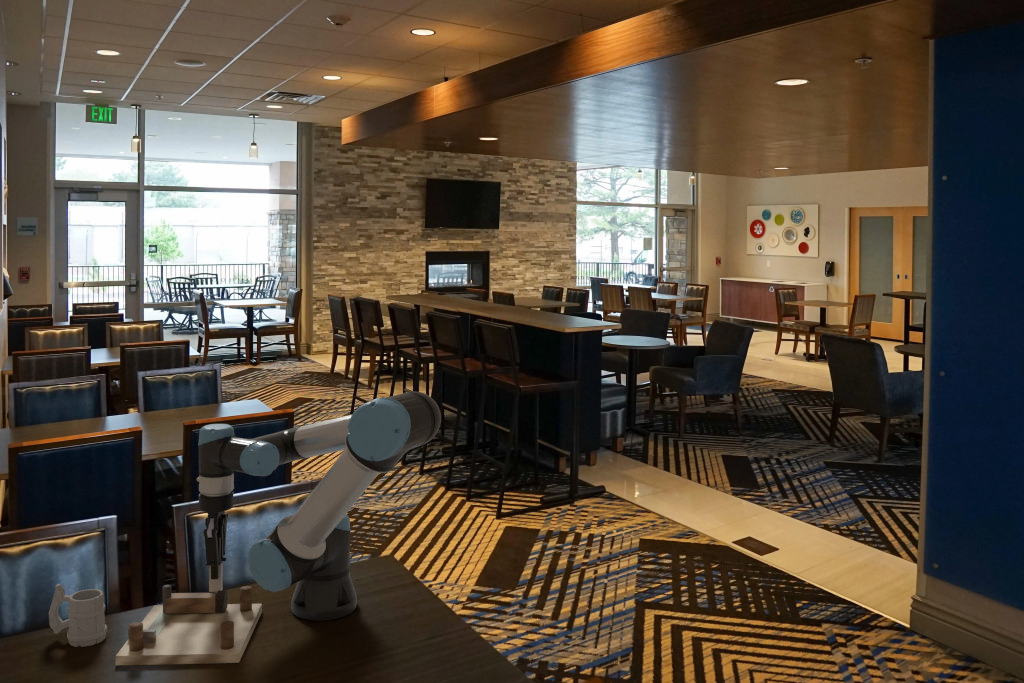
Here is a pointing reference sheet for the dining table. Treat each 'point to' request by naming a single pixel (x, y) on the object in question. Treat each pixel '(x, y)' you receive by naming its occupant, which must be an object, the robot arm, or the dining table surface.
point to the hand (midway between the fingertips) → (215, 590)
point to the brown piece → (194, 602)
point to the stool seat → (192, 635)
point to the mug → (80, 616)
